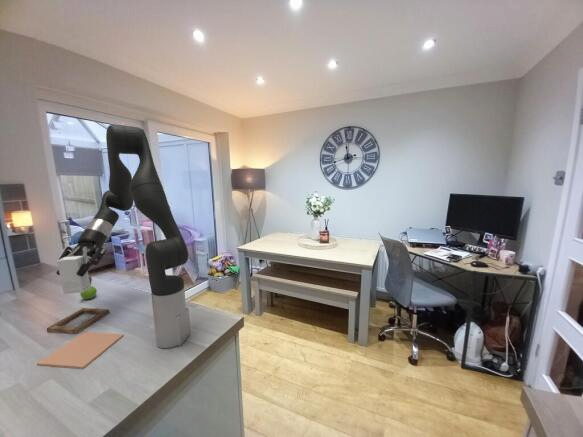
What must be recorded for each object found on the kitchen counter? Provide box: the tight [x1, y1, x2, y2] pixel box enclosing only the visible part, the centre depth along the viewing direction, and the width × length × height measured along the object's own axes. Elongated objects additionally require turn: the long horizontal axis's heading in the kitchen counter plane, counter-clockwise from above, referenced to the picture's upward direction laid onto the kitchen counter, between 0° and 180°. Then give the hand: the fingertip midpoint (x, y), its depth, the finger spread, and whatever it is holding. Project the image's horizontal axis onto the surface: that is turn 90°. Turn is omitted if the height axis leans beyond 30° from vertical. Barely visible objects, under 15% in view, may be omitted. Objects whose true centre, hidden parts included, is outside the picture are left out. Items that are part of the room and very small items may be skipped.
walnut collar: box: [46, 307, 110, 335], centre depth 86 cm, size 11×13×2 cm
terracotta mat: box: [36, 331, 125, 370], centre depth 72 cm, size 14×14×1 cm
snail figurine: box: [80, 275, 98, 300], centre depth 102 cm, size 5×6×12 cm
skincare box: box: [56, 255, 92, 295], centre depth 80 cm, size 6×4×12 cm
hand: (69, 275), depth 79 cm, fingers closed on skincare box, 6 cm apart
